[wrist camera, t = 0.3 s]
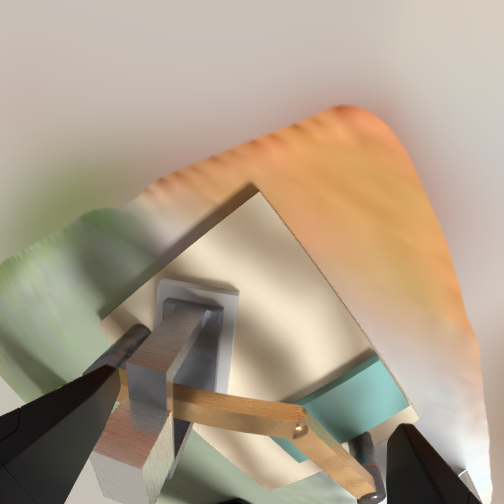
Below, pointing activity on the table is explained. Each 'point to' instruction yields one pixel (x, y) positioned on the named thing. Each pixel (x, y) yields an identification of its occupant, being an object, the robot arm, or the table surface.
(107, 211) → the table surface
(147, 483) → the grey boxy piece
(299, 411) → the wooden crank handle
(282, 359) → the beige rectangular panel
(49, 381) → the table surface
